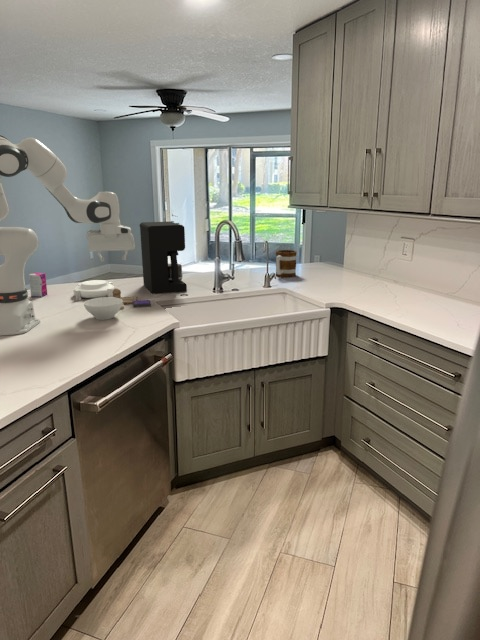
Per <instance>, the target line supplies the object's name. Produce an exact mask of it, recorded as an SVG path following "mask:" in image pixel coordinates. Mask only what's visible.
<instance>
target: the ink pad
mask: <svg viewBox="0 0 480 640" xmlns="http://www.w3.org/2000/svg"><path fill="white" fill-rule="evenodd" d="M132 305H133V308H146V307H148V308H149V307H152V303H151V299H138V300H135V301H133V304H132Z"/></svg>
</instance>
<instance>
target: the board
mask: <svg viewBox="0 0 480 640" xmlns="http://www.w3.org/2000/svg"><path fill="white" fill-rule="evenodd" d="M138 297H139V296H121V299H122V300H123V302H122V303H124V306H126V305H127V306H129V305H133V301H135V300H139V298H138Z"/></svg>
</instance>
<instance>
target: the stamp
mask: <svg viewBox="0 0 480 640" xmlns="http://www.w3.org/2000/svg"><path fill="white" fill-rule="evenodd" d="M121 294H122V292H121V289H119V288H116V289H114V290H113V297H115V298H120V299H121V297H122V295H121ZM124 306H125V305H124V303H122V306H121V308H120V309H119V310H124V309H125V308H124Z"/></svg>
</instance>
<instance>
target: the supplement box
mask: <svg viewBox="0 0 480 640" xmlns="http://www.w3.org/2000/svg"><path fill="white" fill-rule="evenodd" d="M46 276H47V275H46V273H44V272H43V273H42V272H34V273H29V274H28V278H29V289H30V297H31V298H43V297H45V296H48V287H47V279H46V278H47V277H46Z"/></svg>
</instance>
